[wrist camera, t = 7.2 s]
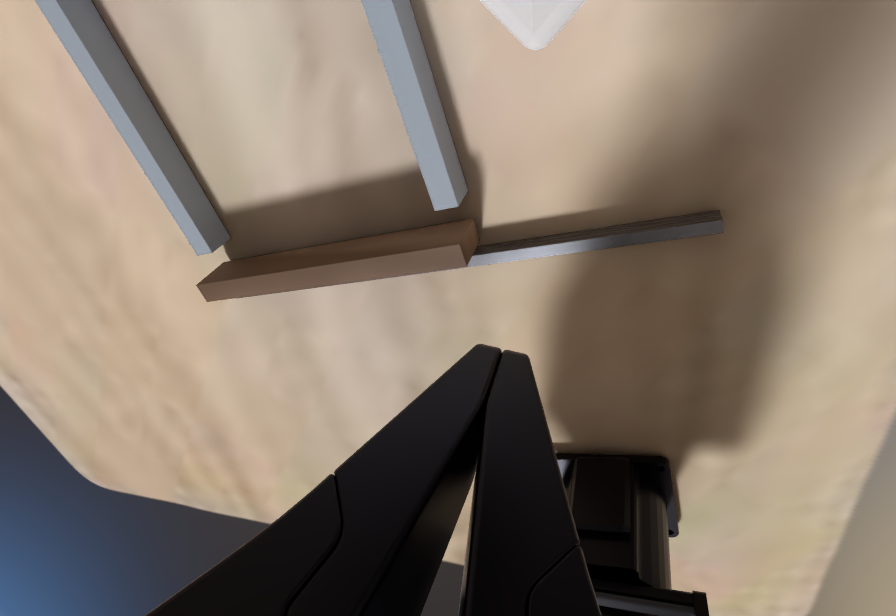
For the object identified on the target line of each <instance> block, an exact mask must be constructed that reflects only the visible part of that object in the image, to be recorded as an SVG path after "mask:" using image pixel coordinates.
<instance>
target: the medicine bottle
mask: <svg viewBox="0 0 896 616" xmlns="http://www.w3.org/2000/svg"><path fill="white" fill-rule="evenodd" d="M585 1H586V0H480V2H481V3H482V4H483V5H484V6H485V7H486V8H487V9H488V10H489V11H490V12H491V13H492V14H493V15H494V16H495V17H496V18H497V19H498V20H499V21H500V22H501V23H502V24H503V25H504V26H505V27H506V28H507V29H508V30H509V31H510V32H511V33H512V34H513V35H514V36H515V37H516V38H517V39H518V40H519V41H520V42H521V43H522V44H523V45H524V46H526V47H527V48H529V49H531V50H540V49H542V48H544V47H545V46H547V45H548V44H549V43H550V42H551V41H552V40H553V39H554V37H555V36H556V35H557V34H558V33H559V32H560V30H561V29H562V28H563V27H564V26H565V25H566V23H567V22H568V21H569V20H570V19H571V18H572V16H573V15H574V14H575V13H576V12H577V11H578V9H579V8H580V7H581V6H582V5H583V4H584V2H585Z"/></svg>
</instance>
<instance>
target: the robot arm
mask: <svg viewBox="0 0 896 616" xmlns="http://www.w3.org/2000/svg"><path fill="white" fill-rule="evenodd" d="M659 465H660V466H659ZM475 472H476V475H475ZM334 474H335V476H334V475H333V474H330V475H329V476H328V477H327V478H325V479H324V480H323V481H322V482H321V483H320V484H319V485H318V486H317V487H315V488H314V489H313V490H312V491H311V492H310V493H309V494H307V495H306V496H305V497H304V498H303V499H301V500H300V501H299V502H298V503H297V504H295V505H294V506H293V507H292V508H291V509H289V510H288V511H287V512H286V513H285V514H283V515H282V516H281V517H280V518H279V519H277V520H276V521H275V522H273V523H272V524H271V525H269V526H268V527H267V528H265V529H264V530H263V531H262V532H260V533H259V534H257V535H256V536H255V537H253V538H252V539H251V540H249V541H248V542H247V543H245V544H244V545H243V546H241V547H240V548H238V549H237V550H236V551H234V552H233V553H231V554H230V555H229V556H227V557H226V558H225V559H223V560H222V561H220V562H219V563H217V564H216V565H215V566H213V567H212V568H210V569H209V570H208V571H206V572H205V573H204V574H202V575H201V576H199V577H198V578H197V579H195V580H194V581H192V582H191V583H190V584H188V585H187V586H185V587H184V588H183V589H181V590H180V591H178V592H177V593H176V594H175V595H173V596H171V597H170V598H169V599H167V600H166V601H165V602H163V603H162V604H160V605H159V606H158V607H156V608H155V609H153V610H152V611H151V612H149V613H148V614H146V615H145V616H420V615H421V613H422V610H423V607H424V605H425V602H426V600H427V597H428V595H429V592H430V589H431V587H432V584H433V582H434V579H435V577H436V574H437V572H438V569H439V566H440V564H441V561H442V559H443V556H444V554H445V551H446V549H447V546H448V543H449V541H450V538H451V536H452V533H453V531H454V528H455V526H456V523H457V520H458V518H459V515H460V513H461V510H462V508H463V505H464V503H465V500H466V497H467V495H468V492H469V490H470V487H471V484H472V481H473V478H474V475H475V483H474V490H473V498H472V506H471V514H470V523H469V531H468V539H467V548H466V556H465V564H464V573H463V582H462V590H461V598H460V607H459V615H458V616H709V611H708V604H707V597H706V593H705V592H698V591H692V593H690V592H683V591H677V590H671V572H670V554H669V537H676V536H677V535H678V534H679V530H678V521H677V513H676V506H675V498H674V490H673V483H672V475H671V467H670V462H669V460H668V459H667V458H665V457H662V456H637V455H590V454H555V450H554V446H553V443H552V439H551V436H550V432H549V428H548V425H547V421H546V417H545V414H544V410H543V406H542V403H541V399H540V396H539V392H538V388H537V385H536V381H535V377H534V374H533V370H532V366H531V363H530V359H529V357H528V356H527V355H526V354H523V353H519V352H514V351H510V350H505V351H503V353H502V351H501V349H500V348H497V347H492V346H488V345H484V344H478V345H476V346H475V347H473V348H472V349H471V350H470V351H469V352H468V353H467V354H465V355H464V356H463V357H462V358H461V359H460V360H459V361H458V362H456V363H455V364H454V365H453V366H452V367H451V368H450V369H449V370H447V371H446V372H445V373H444V374H443V375H442V376H441V377H440V378H438V379H437V380H436V381H435V382H434V383H433V384H432V385H431V386H429V387H428V388H427V389H426V390H425V391H424V392H423V393H422V394H420V395H419V396H418V397H417V398H416V399H415V400H414V401H413V402H411V403H410V404H409V405H408V406H407V407H406V408H405V409H404V410H402V411H401V412H400V413H399V414H398V415H397V416H396V417H395V418H393V419H392V420H391V421H390V422H389V423H388V424H387V425H386V426H384V427H383V428H382V429H381V430H380V431H379V432H378V433H376V434H375V435H374V436H373V437H372V438H371V439H370V440H369V441H367V442H366V443H365V444H364V445H363V446H362V447H361V448H360V449H358V450H357V451H356V452H355V453H354V454H353V455H352V456H351V457H349V458H348V459H347V460H346V461H345V462H344V463H343V464H342V465H340V466H339V467H338V468H337V469H336V470H335V471H334Z"/></svg>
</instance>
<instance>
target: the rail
mask: <svg viewBox="0 0 896 616" xmlns="http://www.w3.org/2000/svg"><path fill="white" fill-rule="evenodd" d="M718 233H723V220H722V216H721V213H720V210H718V211H711V212H704V213H698V214H691V215H684V216H678V217H671V218H665V219H658V220H651V221H645V222H638V223H631V224H625V225H618V226H612V227H605V228H598V229H592V230H585V231H578V232H572V233H565V234H558V235H552V236H545V237H539V238H532V239H525V240H519V241H512V242H505V243H499V244H492V245H485V246H479V247H476V249H475V251H474V253H473V255H472V257H471V259H470V261H469V264H468V266H467V267H473V266H480V265H488V264H495V263H503V262H510V261H517V260H525V259H532V258H540V257H547V256H555V255H562V254H569V253H577V252H584V251H592V250H599V249H607V248H614V247H621V246H629V245H636V244H644V243H651V242H659V241H666V240H673V239H681V238H688V237H696V236H703V235H711V234H718ZM462 268H465V267H462ZM454 269H458V268H454ZM447 270H451V269H447ZM440 271H443V270H440ZM432 272H436V271H432ZM425 273H428V272H425ZM417 274H421V273H417ZM410 275H414V274H410ZM403 276H406V275H403ZM395 277H399V276H395ZM388 278H391V277H388ZM380 279H384V278H380ZM373 280H376V279H373ZM366 281H369V280H366ZM358 282H362V281H358ZM351 283H354V282H351ZM343 284H347V283H343ZM336 285H339V284H336ZM329 286H332V285H329ZM321 287H324V286H321ZM314 288H317V287H314ZM306 289H310V288H306ZM299 290H302V289H299ZM292 291H295V290H292ZM284 292H287V291H284ZM277 293H280V292H277ZM269 294H272V293H269ZM262 295H265V294H262ZM254 296H258V295H254ZM247 297H250V296H247ZM240 298H243V297H240Z"/></svg>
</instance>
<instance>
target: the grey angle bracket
mask: <svg viewBox="0 0 896 616" xmlns="http://www.w3.org/2000/svg"><path fill="white" fill-rule="evenodd" d="M361 1H362V4H363V7H364V10H365V13H366V16H367V18H368V21H369V24H370V27H371V30H372V33H373V36H374V38H375V41H376V44H377V47H378V50H379V53H380V56H381V58H382V61H383V64H384V67H385V70H386V73H387V76H388V78H389V81H390V84H391V87H392V90H393V93H394V96H395V99H396V101H397V104H398V107H399V110H400V113H401V116H402V119H403V121H404V124H405V127H406V130H407V133H408V136H409V139H410V141H411V144H412V147H413V150H414V153H415V156H416V159H417V161H418V164H419V167H420V170H421V173H422V176H423V179H424V181H425V184H426V187H427V190H428V193H429V196H430V199H431V201H432V204H433V207H434V210H435V211H438V210H443V209H449V208H454V207H458V206H459V205H460V203H461V202H462V200H463V198H464V197H465V195H466V193H467V192H468V189H467V186H466V182H465V179H464V176H463V173H462V169H461V166H460V163H459V160H458V156H457V153H456V150H455V147H454V143H453V140H452V137H451V134H450V130H449V127H448V124H447V121H446V117H445V114H444V111H443V108H442V104H441V101H440V98H439V95H438V91H437V88H436V85H435V81H434V78H433V75H432V72H431V68H430V65H429V62H428V59H427V55H426V52H425V49H424V46H423V42H422V39H421V36H420V33H419V29H418V26H417V23H416V20H415V16H414V13H413V10H412V7H411V3H410V0H361ZM35 2H36V3H37V5H38V6H39V8H40V9H41V11H42V13H43V14H44V16H45V17H46V19H47V20H48V22H49V24H50V25H51V27H52V28H53V30H54V31H55V33H56V35H57V36H58V38H59V39H60V41H61V42H62V44H63V45H64V47H65V49H66V50H67V52H68V53H69V55H70V56H71V58H72V60H73V61H74V63H75V64H76V66H77V67H78V69H79V71H80V72H81V74H82V75H83V77H84V78H85V80H86V82H87V83H88V85H89V86H90V88H91V89H92V91H93V93H94V94H95V96H96V97H97V99H98V100H99V102H100V103H101V105H102V107H103V108H104V110H105V111H106V113H107V114H108V116H109V118H110V119H111V121H112V122H113V124H114V125H115V127H116V129H117V130H118V132H119V133H120V135H121V136H122V138H123V140H124V141H125V143H126V144H127V146H128V147H129V149H130V151H131V152H132V154H133V155H134V157H135V158H136V160H137V162H138V163H139V165H140V166H141V168H142V169H143V171H144V172H145V174H146V176H147V177H148V179H149V180H150V182H151V183H152V185H153V187H154V188H155V190H156V191H157V193H158V194H159V196H160V198H161V199H162V201H163V202H164V204H165V205H166V207H167V209H168V210H169V212H170V213H171V215H172V216H173V218H174V220H175V221H176V223H177V224H178V226H179V227H180V229H181V230H182V232H183V234H184V235H185V237H186V238H187V240H188V241H189V243H190V245H191V246H192V248H193V249H194V251H195V252H196V254H197V256H198V255H203V254H208V253H213V252H214V251H215V250H216V249H218V248H219V247H220V246H221V245H223V244H224V243H225V242H227V241H228V240H229V239H230V236H229V234H228V232H227V231H226V229H225V227H224V226H223V224H222V222H221V221H220V219H219V217H218V215H217V214H216V212H215V210H214V209H213V207H212V205H211V204H210V202H209V200H208V198H207V197H206V195H205V193H204V192H203V190H202V188H201V187H200V185H199V183H198V181H197V180H196V178H195V176H194V175H193V173H192V171H191V170H190V168H189V166H188V164H187V163H186V161H185V159H184V158H183V156H182V154H181V153H180V151H179V149H178V147H177V146H176V144H175V142H174V141H173V139H172V137H171V136H170V134H169V132H168V130H167V129H166V127H165V125H164V124H163V122H162V120H161V119H160V117H159V115H158V113H157V112H156V110H155V108H154V107H153V105H152V103H151V102H150V100H149V98H148V96H147V95H146V93H145V91H144V90H143V88H142V86H141V85H140V83H139V81H138V79H137V78H136V76H135V74H134V73H133V71H132V69H131V68H130V66H129V64H128V62H127V61H126V59H125V57H124V56H123V54H122V52H121V51H120V49H119V47H118V45H117V44H116V42H115V40H114V39H113V37H112V35H111V34H110V32H109V30H108V28H107V27H106V25H105V23H104V22H103V20H102V18H101V17H100V15H99V13H98V11H97V10H96V8H95V6H94V5H93V3H92V1H91V0H35Z"/></svg>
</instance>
